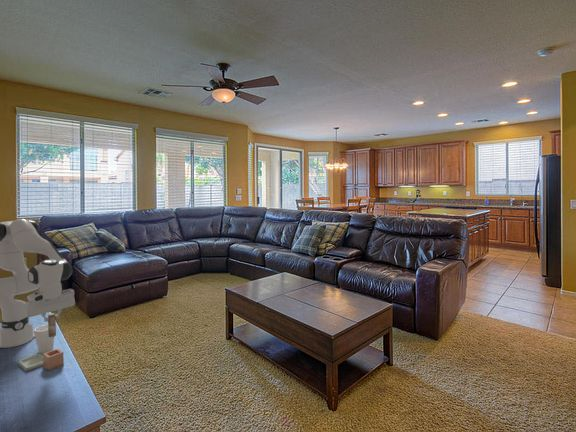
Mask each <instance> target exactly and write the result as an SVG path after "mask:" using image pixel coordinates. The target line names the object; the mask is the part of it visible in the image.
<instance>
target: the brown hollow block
mask: <svg viewBox="0 0 576 432" xmlns="http://www.w3.org/2000/svg"><path fill="white" fill-rule="evenodd" d="M42 356H43V363H44V365H43V368H44V369H46V371H48V372H50V371H53V370H56V369H58V368H60V367H64V366H65V365H64V364H65V361H64V351H62V350H61V349H59V348H55V349H53V350H51V351H49V352H46V353H42Z"/></svg>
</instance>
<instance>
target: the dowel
mask: <svg viewBox="0 0 576 432" xmlns="http://www.w3.org/2000/svg"><path fill="white" fill-rule="evenodd" d="M55 315H56V313H49V314H47V317H49V321H47V324H48V333H49V337H54V338H55V337H56V336H57V327H56V326H57V324H56V323H57V322H56V320H57V319H56V317H55Z"/></svg>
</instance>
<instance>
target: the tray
mask: <svg viewBox="0 0 576 432" xmlns="http://www.w3.org/2000/svg"><path fill="white" fill-rule="evenodd" d="M17 364H18V365H19V366H20V367H21V368H22V369H23V370H24V371H25V372H26V373H28V372H30V371H33V370H34V369H37V368H39V367H40V368H41V367H44V363H43V354H42V353H39V352H38V353H36V354H33V355H30V356H28V357H24V358H21V359H19V360H17Z"/></svg>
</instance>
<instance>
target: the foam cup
mask: <svg viewBox="0 0 576 432" xmlns="http://www.w3.org/2000/svg"><path fill="white" fill-rule="evenodd" d="M33 333H34V335H35V337H34V338H35V340H36V341H35V342H36V347H37V351H38V353H40V354H43V353H46V352H49V351H52V350H54V345H55V344H54V343H55V336H54V337H49V333H48V323H47V324H43V325H39V326H37V327H35V328H33Z"/></svg>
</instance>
